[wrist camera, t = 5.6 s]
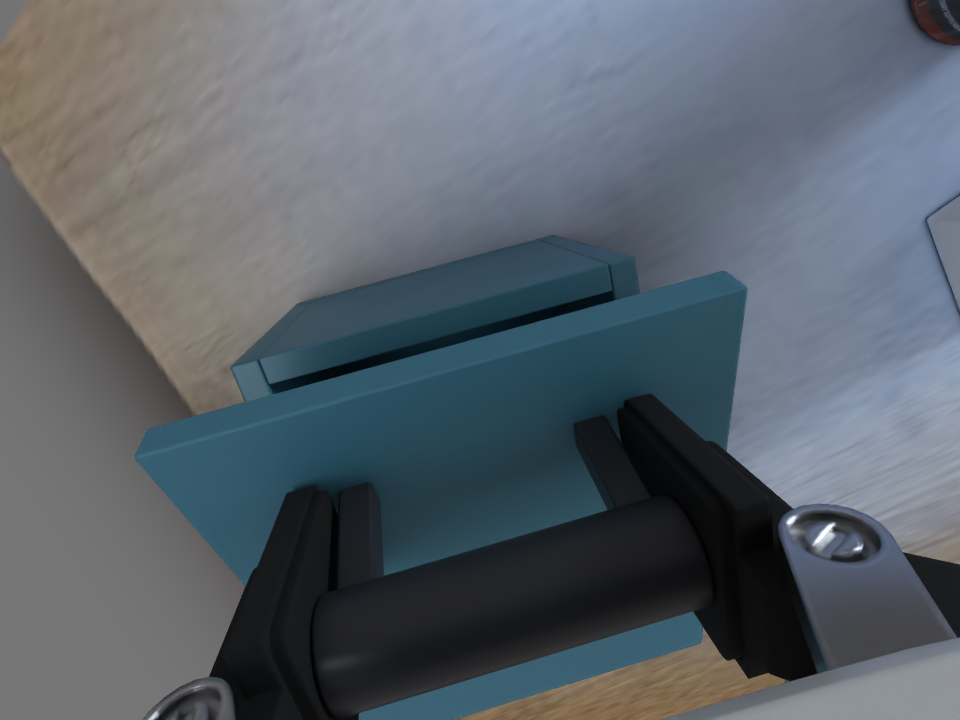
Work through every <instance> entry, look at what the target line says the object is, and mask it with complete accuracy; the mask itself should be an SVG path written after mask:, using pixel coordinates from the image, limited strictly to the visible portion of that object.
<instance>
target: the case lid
mask: <svg viewBox="0 0 960 720" xmlns="http://www.w3.org/2000/svg"><path fill="white" fill-rule="evenodd" d="M746 297H747V287H746V286H745V285H744V284H742V283H741V282H740V281H738V280H737V279H736V278H734V277H733V276H732V275H730V274H729V273H727V272H726V271H720V272H717V273H713V274H709V275H706V276H702V277H699V278H695V279H691V280H688V281H684V282H680V283H677V284H673V285H669V286H666V287H662V288H659V289H655V290H651V291H648V292H644V293H640V294H637V295H633V296H629V297H626V298H622V299H619V300H615V301H611V302H608V303H604V304H600V305H597V306H593V307H589V308H586V309H582V310H579V311H575V312H571V313H568V314H564V315H560V316H557V317H553V318H549V319H546V320H542V321H539V322H535V323H531V324H528V325H524V326H520V327H517V328H513V329H509V330H506V331H502V332H499V333H495V334H491V335H488V336H484V337H480V338H477V339H473V340H469V341H466V342H462V343H459V344H455V345H451V346H448V347H444V348H440V349H437V350H433V351H429V352H426V353H422V354H419V355H415V356H411V357H408V358H404V359H400V360H397V361H393V362H389V363H386V364H382V365H379V366H375V367H371V368H368V369H364V370H360V371H357V372H353V373H349V374H346V375H342V376H339V377H335V378H331V379H328V380H324V381H320V382H317V383H313V384H309V385H306V386H302V387H299V388H295V389H291V390H288V391H284V392H280V393H277V394H273V395H269V396H266V397H262V398H259V399H255V400H251V401H248V402H244V403H240V404H237V405H233V406H229V407H226V408H222V409H219V410H215V411H211V412H208V413H204V414H200V415H197V416H193V417H190V418H186V419H182V420H179V421H175V422H172V423H168V424H165V425H161V426H157V427H153V428H150V429H148V430H147V432H146V434H145V436H144V438H143V440H142V442H141V444H140V446H139V449H138V450H137V452H136V455H135V459H136V460H137V462H138V463H140V465H141V466H142V467H143V469H144V470H145V471H146V472H147V473H148V474H149V475H150V477H151V478H152V479H153V480H154V481H155V482H156V484H157V485H158V486H159V487H160V488H161V489H162V491H163V492H164V493H165V494H166V495H167V496H168V497H169V499H170V500H171V501H172V502H173V503H174V504H175V506H176V507H177V508H178V509H179V510H180V511H181V512H182V514H183V515H184V516H185V517H186V518H187V519H188V521H189V522H190V523H191V524H192V525H193V526H194V528H195V529H196V530H197V531H198V532H199V533H200V534H201V536H202V537H203V538H204V539H205V540H206V542H207V543H208V544H209V545H210V546H211V547H212V548H213V550H214V551H215V552H216V553H217V554H218V555H219V557H220V558H221V559H222V560H223V561H224V562H225V563H226V565H227V566H228V567H229V568H230V569H231V570H232V572H233V573H234V574H235V575H236V576H237V577H238V579H239V580H240V581H241V582H242V583H243V584H244V585H245V587H246V584H247V582H248V579H249V577H250V575H251V573H252V571H253V570H254V568H256V567H257V566H258V564H259V561H260V558H261V556H262V553H263V551H264V548H265V546H266V543H267V541H268V538H269V536H270V533H271V531H272V528H273V526H274V523H275V521H276V518H277V516H278V513H279V511H280V508H281V505H282V503H283V500H284V498H285V496H286V494H287V493H289V492H292V491H296V490H299V489H303V488H307V487H310V486H314V485H315V486H316V487H317V488H318V489H319V491H321V490H327V491H328V492H329V494H330V497H331V499H332V502H333V504H334V507H335V509H336V512H337V514H338V536H337V567H336V590H334V591H331V592H327V593H325V594H324V595H322V596H321V597H320V598H319V599H318V601H317V603H316V605H315V608H314V612H313V618H312V628H311V649H312V661H313V668H314V673H315V678H316V682H317V686H318V689H319V693H320V695H321V698H322V701H323V703H324V705H325V707H326V708H327V710H328V711H329V713H330V714H331V715H332V716H334V717H336V718H345V717H348V716H352V715H355V714H358V713H359V719H360V720H454V719H457V718H460V717H464V716H467V715H470V714H473V713H477V712H480V711H483V710H486V709H489V708H493V707H496V706H499V705H502V704H506V703H509V702H512V701H515V700H519V699H522V698H525V697H528V696H532V695H535V694H538V693H541V692H545V691H548V690H551V689H554V688H558V687H561V686H564V685H567V684H571V683H574V682H577V681H580V680H584V679H587V678H590V677H593V676H597V675H600V674H603V673H606V672H610V671H613V670H616V669H619V668H623V667H626V666H629V665H632V664H636V663H639V662H642V661H645V660H648V659H652V658H655V657H658V656H661V655H665V654H668V653H671V652H674V651H678V650H681V649H684V648H687V647H691V646H694V645H697V644H700V643H701V640H702V633H703V626H702V625H701V623H700V622H699V620H698V618H697V617H696V615H695V614H694V612H693V611H696V610H699V609H702V608H706V607H708V606H710V605H711V604H712V603H713V601H714V597H715V586H714V579H713V574H712V570H711V566H710V563H709V559H708V556H707V554H706V551H705V548H704V546H703V543H702V541H701V539H700V537H699V535H698V533H697V531H696V529H695V527H694V525H693V523H692V522H691V520H690V518H689V517H688V515H687V514H686V512H685V511H684V509H683V508H682V507H681V506H680V504H679V503H678V502H677V501H676V500H675V499H674V498H672V497H671V496H669V495H663V494H661V495H658V496H654V497H653V496H652V494H651V493H650V491H649V489H648V487H647V486H646V484H645V482H644V481H643V479H642V477H641V476H640V474H639V472H638V471H637V469H636V467H635V466H634V464H633V462H632V461H631V459H630V457H629V456H628V454H627V452H626V451H625V449H624V447H623V445H622V444H621V438H620V432H619V426H618V419H617V410H618V409H620V408H624V401H625V400H627V399H631V398H635V397H638V396H642V395H646V394H650V393H651V394H653V395H654V396H655V397H656V398H657V399H658V400H660V401H661V402H662V403H663V404H664V405H665V406H666V407H667V408H669V409H670V410H671V411H672V412H673V413H674V414H675V415H677V416H678V417H679V418H680V419H681V420H682V421H683V422H684V423H686V424H687V425H688V426H689V427H690V428H691V429H692V430H694V431H695V432H696V433H697V434H698V435H699V436H700V437H701V438H703V439H704V440H705V441H713V442H715V443H717V444H718V445H719V446H720V447H722V448H723V449H724V450H725V451H726V449H727V442H728V434H729V426H730V419H731V411H732V404H733V396H734V388H735V381H736V373H737V365H738V358H739V350H740V343H741V335H742V327H743V320H744V312H745V304H746Z"/></svg>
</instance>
